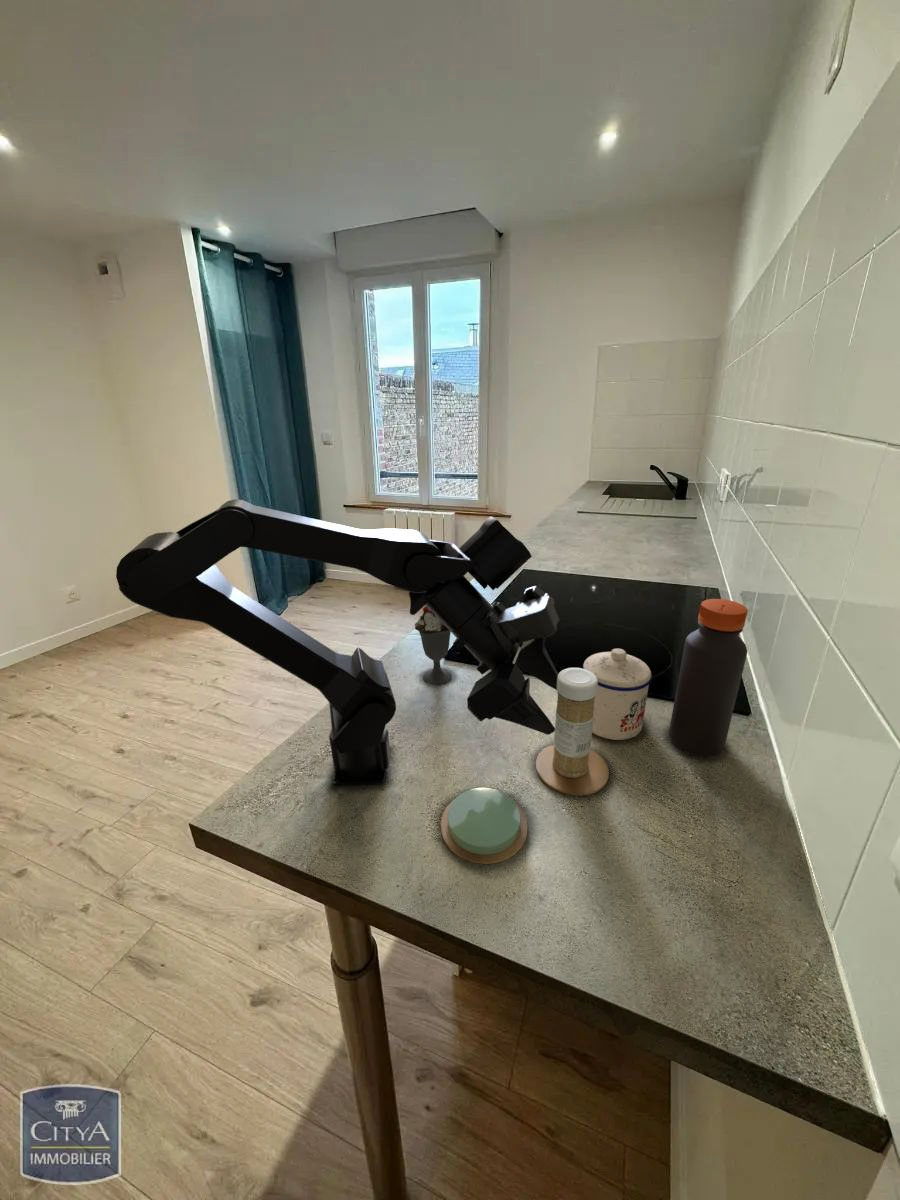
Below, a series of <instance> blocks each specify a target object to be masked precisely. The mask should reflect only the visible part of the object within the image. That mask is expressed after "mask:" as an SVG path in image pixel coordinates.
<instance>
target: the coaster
mask: <svg viewBox="0 0 900 1200" xmlns="http://www.w3.org/2000/svg"><path fill="white" fill-rule="evenodd" d="M553 757H554V744H551V745H548V746H546V747H545V748H543V749H542V750H541V751H540V752H539V753H538V754H537V757H536V759H535V769H536V772H537V773H536V774H538V776H539V778H540V779H541V781H542V782H543V783H544V784H546V785H547V786H548V787H550V788H551V789H552V790H555V791H557V792H560V793H562V794H565V795H569V796H570V795H571V796H589V795H593V794H595V793H598V792H599V791H601V790H602V789H603V788H604V787H605V786H606V785H607V783H608V781H609V776H610V771H609V767H608V765H607V763H606V761H605V760H604V759H603V758H602V756H601V755H600V754H598V753H597V752H596V751H594V750H593V749H591V748H590V751H589V758H588V765H589V768H588V771H587V773H586V774H585V775H583V776H581V777H578V778H569V777H565V776H563V775H561V774H559V773H558V772H557V771H556V770H555V769H554V767H553V763H552V761H553Z"/></svg>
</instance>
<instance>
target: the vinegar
mask: <svg viewBox="0 0 900 1200" xmlns="http://www.w3.org/2000/svg"><path fill="white" fill-rule="evenodd" d="M748 610H749V609H748V608H747V607H746V606H745V605H744V604H741V603H739V602H737V601H734V600H730V599H724V598H707V599H705V600H702V601H701V602H700V607H699V611H698V612H699V613H698V617H697V625H698V626H699V627H698V628H697V629H695V630H694V631H692V632H690V633H689V634H688V635H687V636H686V637H685V640H684V646H683V653H682V658H681V664H680V668H679V674H678V680H677V684H676V690H675V696H674V701H673V706H672V710H671V717H670V722H669V727H668V737H669V739H670V740H671V742H672V743H673V744H674V745H675V747H677V748H679V749H680V750H682V751H683V752H686V753H688V754H690V755H692V756H693V755H694V756H696V757H697V756H698V757H704V758H705V757H714V756H715V757H716V756H718V755H719V754H721V753H723V751H724V749H725V746H726V742H727V738H728V734H729V731H730V726H731V722H732V717H733V714H734V709H735V705H736V701H737V697H738V693H739V689H740V685H741V681H742V676H743V672H744V669H745V664H746V660H747V656H748V647H747V644H746V643H745V642H744V641H743V639H742V638H741V637H740V634H741V633H742V632H743V630H744V628H745V624H746V620H747V615H748Z"/></svg>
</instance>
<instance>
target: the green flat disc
mask: <svg viewBox="0 0 900 1200" xmlns="http://www.w3.org/2000/svg"><path fill="white" fill-rule="evenodd" d="M452 801H453V802H452ZM452 801H451V802H452V803H451V802H450V803H451V805H450V807H449V810H448V829H449V833H450V835H451V837H452V838H453V840H454V841H455V842H456V843H457V844H458V845H459V846H460V847H462V848H463V849H465V850H467V851H469V852H472V853H475V854H481V855H490V854H496V853H499V852H502V851H504V850H506V849H507V848H509V847H510V846H511V845H512V844H513V843H514V842H515V840H516V839H517V837H518V835H519V831H520V812H519V809H518V807H517V805H516V804H515V803H516V801H515V800H514V799H513V798H512V797H510V796H509V795H508V794H506V793H504V792H503V791H500V790H497V789H495V788H490V787H476V788H475V787H474V788H471V789H467V790H466V791H464V792H461V793H459V794H458V795H457V796H456V797H455V798H454V799H453V800H452Z"/></svg>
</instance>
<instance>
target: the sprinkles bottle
mask: <svg viewBox="0 0 900 1200" xmlns="http://www.w3.org/2000/svg"><path fill="white" fill-rule="evenodd" d="M597 685H598V680H597V677H596V676H595V675H594V674H593V673H592V672H590V671H588V670H586V669H582V668H581V667H567V668H565V669H562V670H561V671H559V672H558V677H557V690H556V691H557V701H556V709H555V722H554V728H555V731H554V736H553V738H554V739H553V745H554V757H553V761H552V763H553V767H554V769H555V770H556V771H557V772H558V773H559V774H561V775H563V776H565V777H569V778H578V777H581V776H583V775H585V774H586V773H587V771H588V768H589V765H588V758H589V751H590V749H591V745H592V737H593V736H592V735H593V733H592V728H593V718H594V714H593V711H594V699H595V696H596V694H597Z"/></svg>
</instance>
